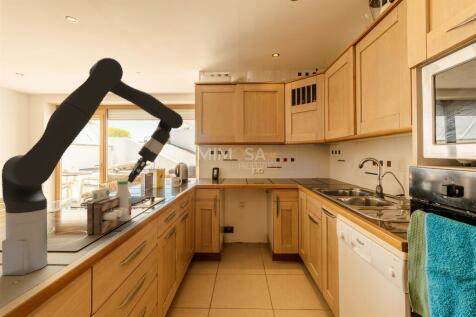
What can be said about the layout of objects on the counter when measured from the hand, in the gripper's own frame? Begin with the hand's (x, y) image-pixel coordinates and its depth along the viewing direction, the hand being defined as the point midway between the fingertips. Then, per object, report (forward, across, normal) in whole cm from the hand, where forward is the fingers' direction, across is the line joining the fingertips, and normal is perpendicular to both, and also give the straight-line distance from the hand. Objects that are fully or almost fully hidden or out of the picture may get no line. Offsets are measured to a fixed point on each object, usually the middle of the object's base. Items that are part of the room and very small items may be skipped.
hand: (129, 179), depth 107 cm
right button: (+17, -7, +6) cm, 19 cm away
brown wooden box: (+25, -4, +4) cm, 25 cm away
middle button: (+18, -3, +4) cm, 18 cm away
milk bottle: (+22, -17, +10) cm, 30 cm away
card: (+15, -6, -4) cm, 16 cm away
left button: (+18, +1, +3) cm, 19 cm away
